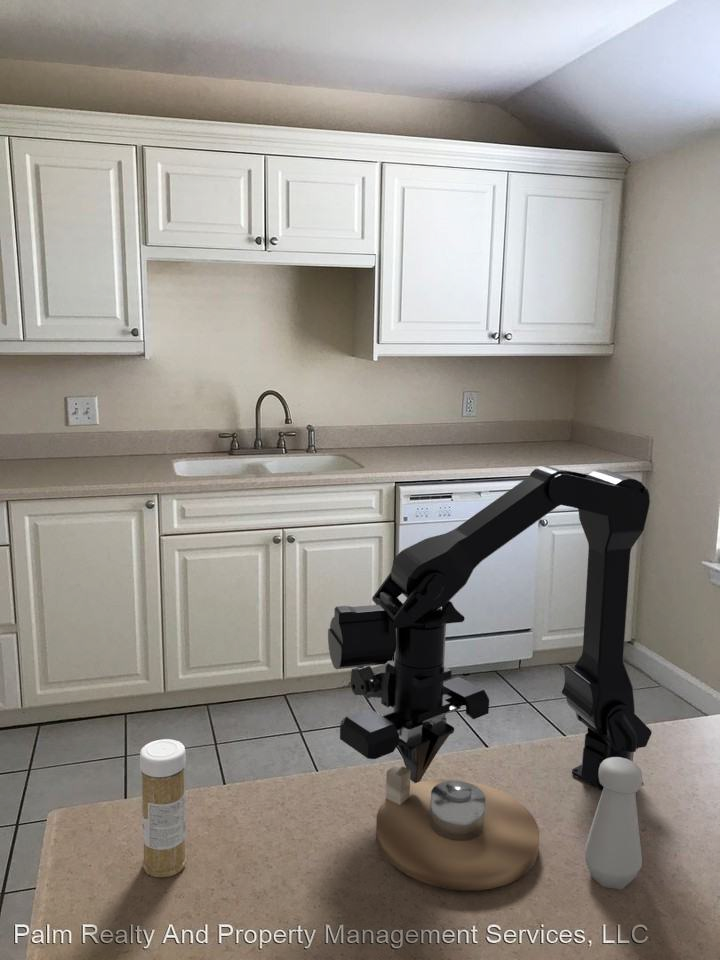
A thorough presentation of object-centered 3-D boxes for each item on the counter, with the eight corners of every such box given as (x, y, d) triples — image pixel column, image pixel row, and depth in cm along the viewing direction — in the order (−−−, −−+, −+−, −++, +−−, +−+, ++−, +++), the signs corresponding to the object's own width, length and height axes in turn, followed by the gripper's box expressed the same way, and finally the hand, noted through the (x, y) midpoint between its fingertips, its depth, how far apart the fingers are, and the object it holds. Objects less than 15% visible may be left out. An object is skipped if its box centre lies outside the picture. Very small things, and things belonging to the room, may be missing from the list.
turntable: (430, 774, 105) (432, 737, 104) (564, 828, 95) (568, 788, 94) (343, 843, 91) (344, 802, 90) (490, 916, 80) (493, 870, 79)
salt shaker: (628, 859, 91) (639, 749, 88) (648, 895, 85) (660, 779, 82) (575, 858, 90) (585, 749, 88) (591, 894, 85) (602, 779, 82)
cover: (447, 802, 96) (449, 767, 96) (493, 821, 93) (495, 785, 92) (419, 826, 92) (421, 789, 91) (466, 848, 88) (469, 810, 87)
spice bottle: (148, 851, 90) (146, 736, 87) (191, 852, 90) (189, 737, 87) (137, 879, 85) (134, 759, 82) (181, 880, 85) (179, 760, 82)
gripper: (431, 619, 107) (426, 730, 110) (312, 653, 96) (311, 776, 99) (495, 648, 99) (488, 767, 102) (372, 689, 87) (369, 822, 90)
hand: (414, 780), depth 99 cm, fingers closed
